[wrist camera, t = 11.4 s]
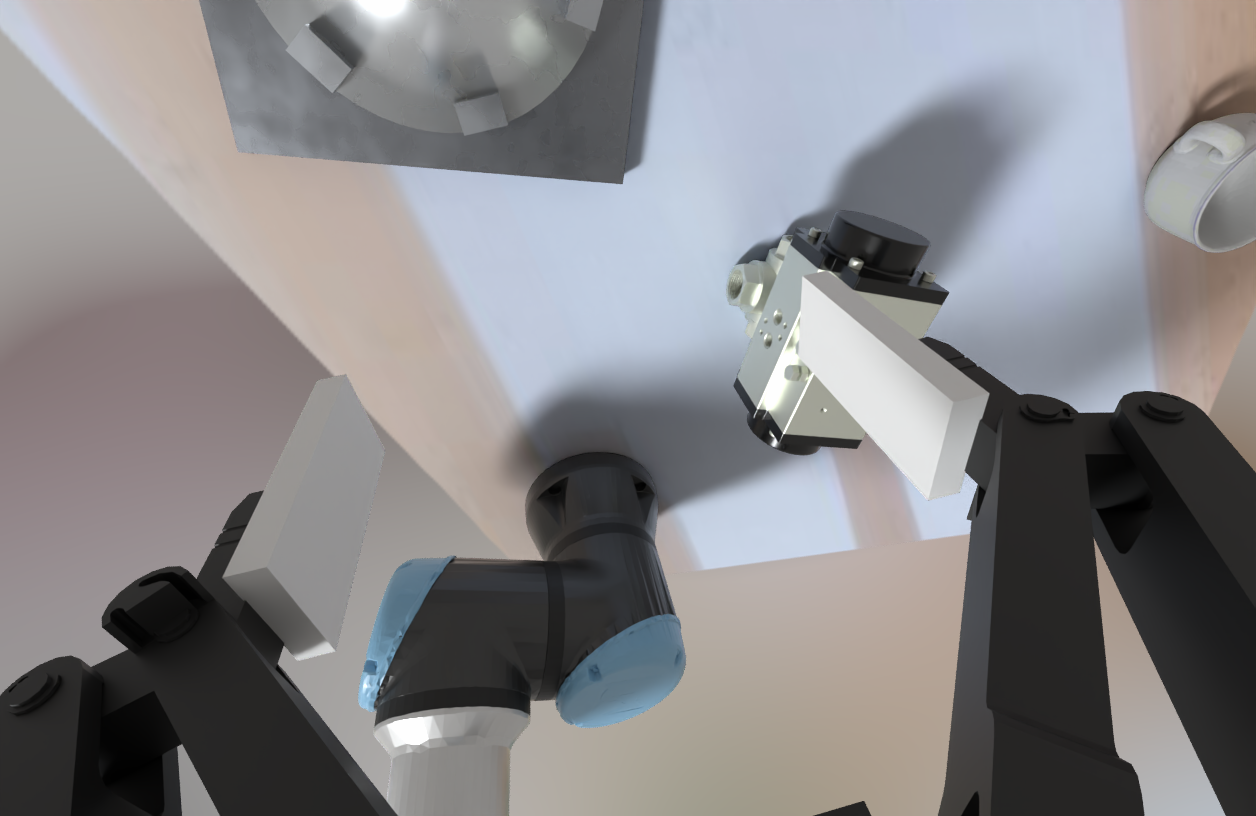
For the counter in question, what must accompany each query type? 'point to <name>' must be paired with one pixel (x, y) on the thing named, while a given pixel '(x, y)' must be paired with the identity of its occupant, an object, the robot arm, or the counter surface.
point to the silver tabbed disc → (438, 54)
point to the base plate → (341, 130)
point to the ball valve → (771, 299)
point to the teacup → (1208, 185)
